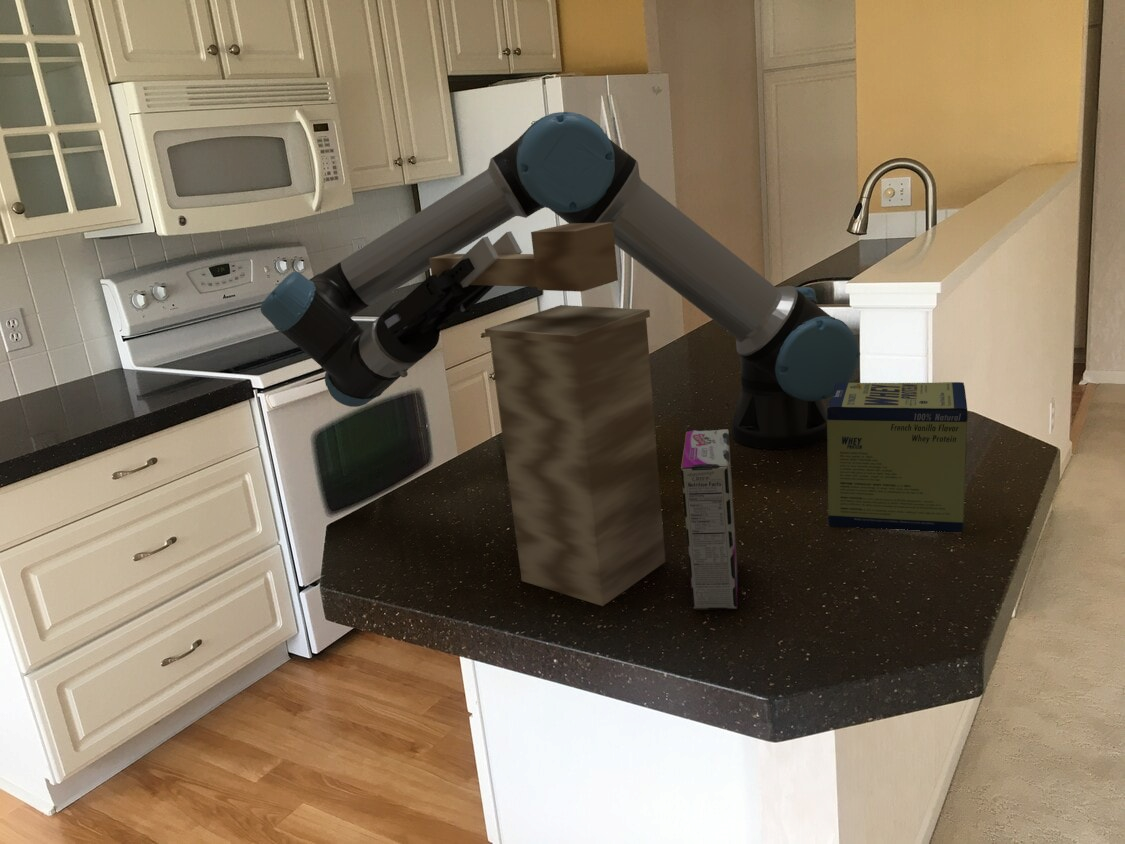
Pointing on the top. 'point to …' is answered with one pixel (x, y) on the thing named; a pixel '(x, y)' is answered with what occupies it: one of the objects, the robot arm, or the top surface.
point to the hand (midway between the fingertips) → (502, 245)
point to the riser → (580, 448)
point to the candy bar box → (710, 519)
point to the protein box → (897, 455)
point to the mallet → (552, 260)
